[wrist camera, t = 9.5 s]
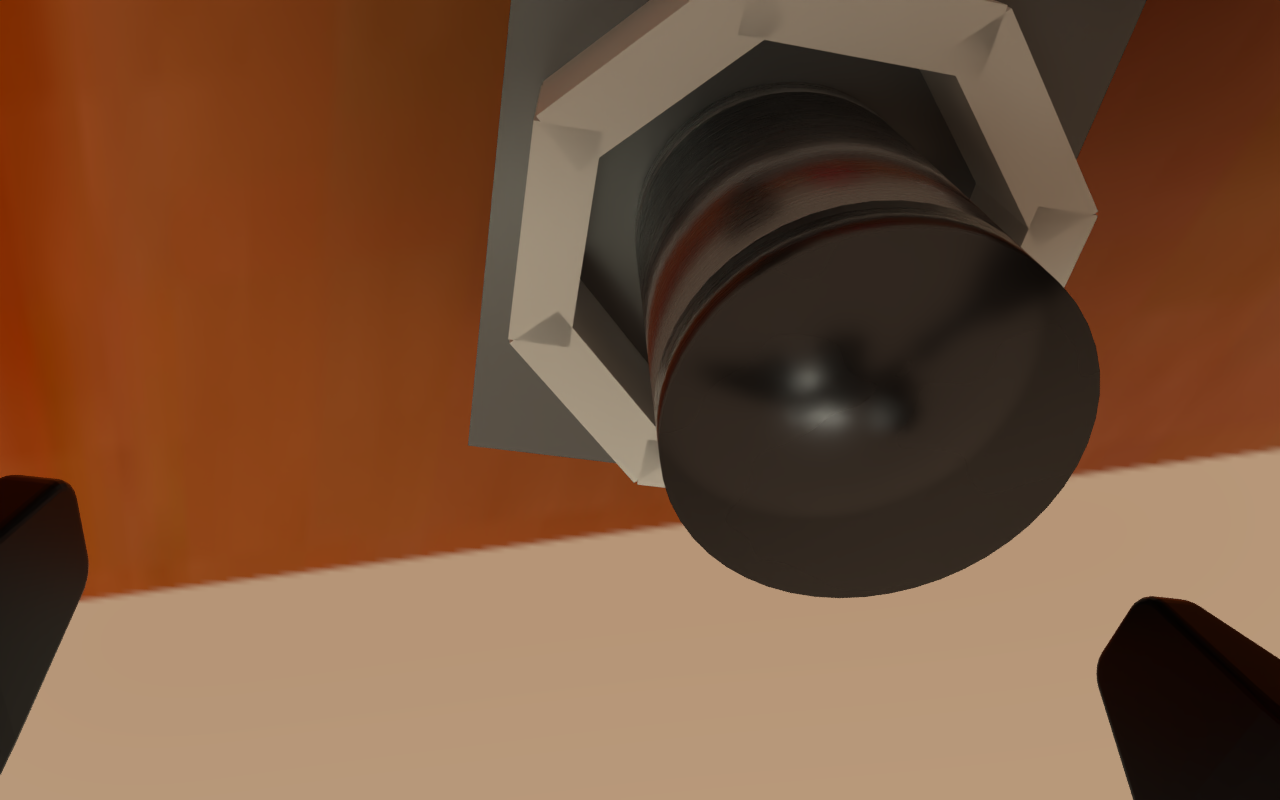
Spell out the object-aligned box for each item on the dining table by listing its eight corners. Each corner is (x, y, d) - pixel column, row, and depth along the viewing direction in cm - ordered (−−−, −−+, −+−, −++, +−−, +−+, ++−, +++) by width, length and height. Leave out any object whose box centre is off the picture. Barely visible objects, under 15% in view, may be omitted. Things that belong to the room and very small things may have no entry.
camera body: (1082, -211, 15) (1363, -244, 10) (866, 383, 21) (961, 569, 16) (560, -335, 14) (541, -454, 8) (491, 332, 20) (453, 514, 15)
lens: (777, 13, 13) (903, 124, 8) (974, 211, 14) (1186, 410, 9) (576, 247, 14) (568, 465, 9) (774, 397, 16) (860, 652, 11)
